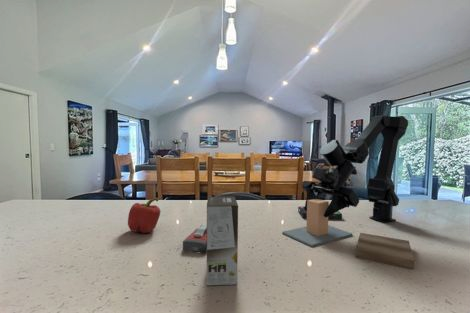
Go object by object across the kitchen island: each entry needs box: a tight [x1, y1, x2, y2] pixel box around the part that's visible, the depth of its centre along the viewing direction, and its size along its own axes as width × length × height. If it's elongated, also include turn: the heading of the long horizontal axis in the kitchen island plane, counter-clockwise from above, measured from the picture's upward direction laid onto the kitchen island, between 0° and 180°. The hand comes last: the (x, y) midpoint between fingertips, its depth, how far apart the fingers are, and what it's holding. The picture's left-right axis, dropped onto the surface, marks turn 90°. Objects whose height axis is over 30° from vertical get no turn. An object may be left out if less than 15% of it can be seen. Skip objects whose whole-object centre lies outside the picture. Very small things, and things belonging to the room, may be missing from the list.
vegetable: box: [127, 197, 161, 234], centre depth 82 cm, size 11×10×10 cm
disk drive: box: [297, 206, 343, 221], centre depth 101 cm, size 10×3×15 cm
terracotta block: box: [306, 199, 330, 236], centre depth 79 cm, size 4×4×10 cm
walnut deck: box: [355, 232, 415, 270], centre depth 67 cm, size 14×12×2 cm
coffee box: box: [206, 196, 239, 286], centre depth 55 cm, size 9×6×16 cm
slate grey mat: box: [281, 224, 353, 248], centre depth 80 cm, size 18×12×1 cm, turn 121°
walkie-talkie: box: [182, 224, 207, 254], centre depth 74 cm, size 9×4×20 cm
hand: (314, 213), depth 79 cm, fingers open, 7 cm apart
